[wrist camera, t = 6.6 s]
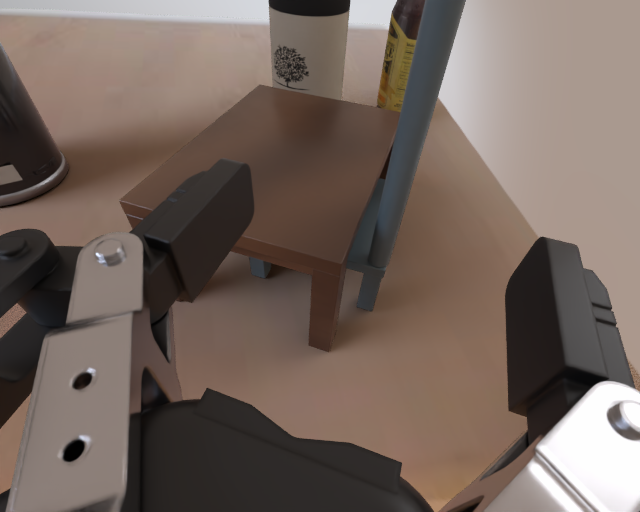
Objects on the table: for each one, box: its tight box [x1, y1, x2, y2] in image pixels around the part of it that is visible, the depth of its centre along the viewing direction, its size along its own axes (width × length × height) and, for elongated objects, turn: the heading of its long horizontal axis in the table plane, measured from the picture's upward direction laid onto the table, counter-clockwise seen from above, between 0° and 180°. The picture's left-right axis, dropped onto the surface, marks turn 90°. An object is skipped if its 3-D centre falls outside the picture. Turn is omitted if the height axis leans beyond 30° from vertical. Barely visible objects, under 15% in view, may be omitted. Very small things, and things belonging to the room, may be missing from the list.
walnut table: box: [119, 85, 400, 352], centre depth 27 cm, size 13×18×9 cm
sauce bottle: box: [377, 0, 425, 112], centre depth 41 cm, size 6×6×20 cm
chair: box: [249, 0, 466, 311], centre depth 22 cm, size 10×10×21 cm
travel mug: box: [269, 0, 350, 100], centre depth 38 cm, size 8×8×18 cm
